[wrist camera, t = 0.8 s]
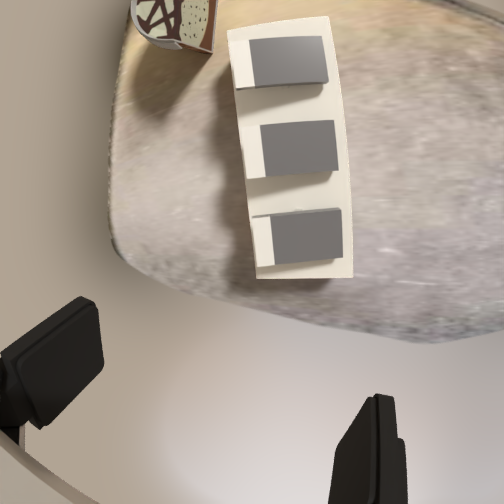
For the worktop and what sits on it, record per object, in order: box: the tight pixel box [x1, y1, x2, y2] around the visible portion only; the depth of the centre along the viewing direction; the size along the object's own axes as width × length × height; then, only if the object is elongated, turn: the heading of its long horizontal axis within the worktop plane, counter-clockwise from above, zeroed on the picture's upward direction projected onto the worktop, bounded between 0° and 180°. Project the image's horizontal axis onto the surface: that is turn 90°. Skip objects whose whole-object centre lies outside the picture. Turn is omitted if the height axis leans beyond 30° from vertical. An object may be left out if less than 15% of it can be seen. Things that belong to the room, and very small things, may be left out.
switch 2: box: [241, 120, 339, 179], centre depth 27 cm, size 8×4×1 cm, turn 97°
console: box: [227, 16, 353, 279], centre depth 31 cm, size 10×26×7 cm, turn 7°
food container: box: [131, 0, 218, 54], centre depth 27 cm, size 12×6×10 cm, turn 176°
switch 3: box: [252, 207, 343, 267], centre depth 29 cm, size 8×4×1 cm, turn 97°
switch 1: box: [230, 36, 329, 91], centre depth 24 cm, size 8×4×1 cm, turn 97°
